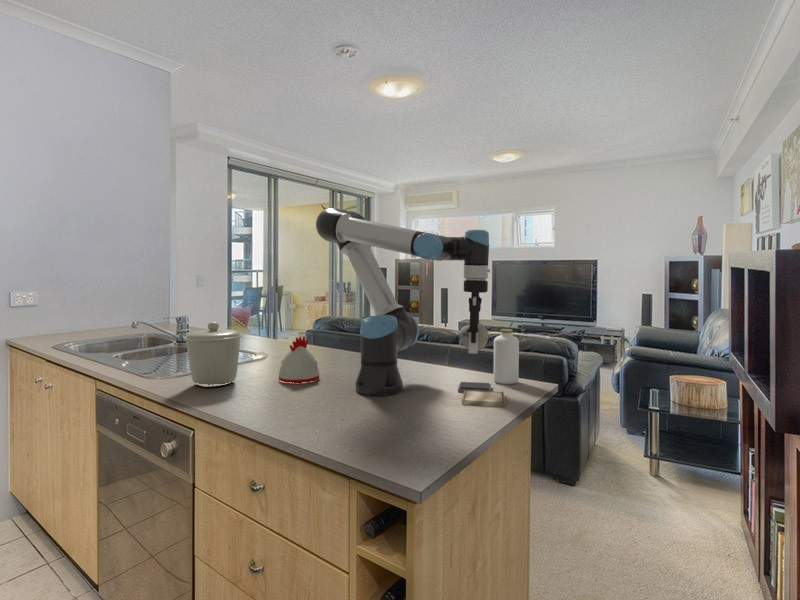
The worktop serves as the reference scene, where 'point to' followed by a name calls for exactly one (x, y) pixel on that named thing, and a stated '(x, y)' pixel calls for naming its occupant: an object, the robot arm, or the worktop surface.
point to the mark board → (483, 398)
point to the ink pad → (474, 386)
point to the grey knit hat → (299, 364)
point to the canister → (213, 354)
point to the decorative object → (481, 336)
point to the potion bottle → (506, 358)
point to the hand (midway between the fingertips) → (473, 350)
